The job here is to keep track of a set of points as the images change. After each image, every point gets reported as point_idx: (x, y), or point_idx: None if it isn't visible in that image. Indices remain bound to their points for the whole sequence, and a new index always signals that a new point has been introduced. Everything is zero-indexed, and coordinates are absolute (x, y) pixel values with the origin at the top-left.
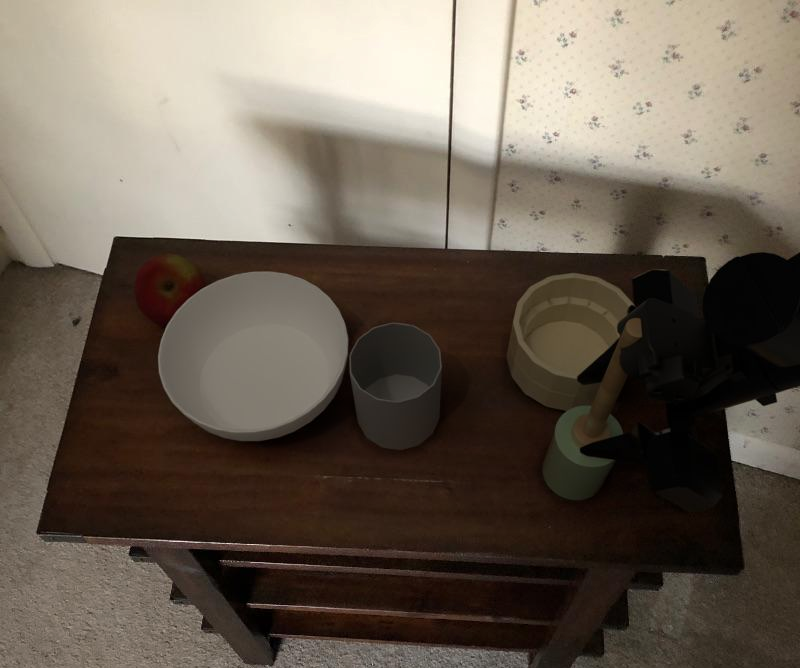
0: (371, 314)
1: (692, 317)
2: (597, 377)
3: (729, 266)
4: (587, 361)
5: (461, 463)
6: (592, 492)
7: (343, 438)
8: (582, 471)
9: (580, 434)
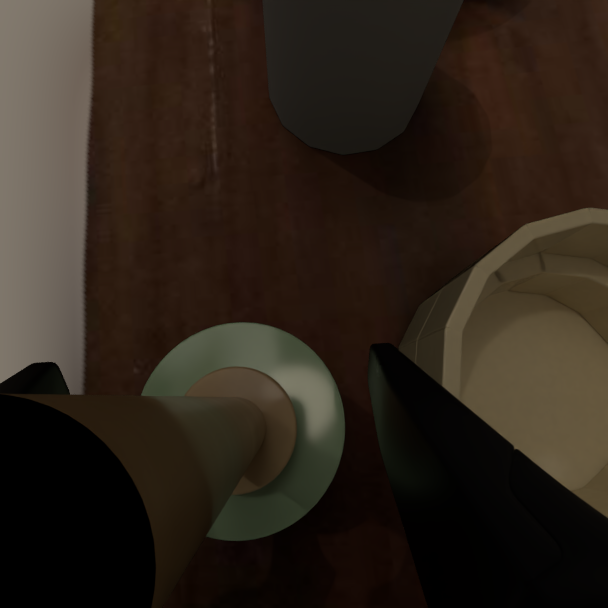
0: (538, 24)
1: None
2: (386, 426)
3: None
4: (528, 437)
5: (255, 200)
6: None
7: None
8: None
9: (213, 390)
